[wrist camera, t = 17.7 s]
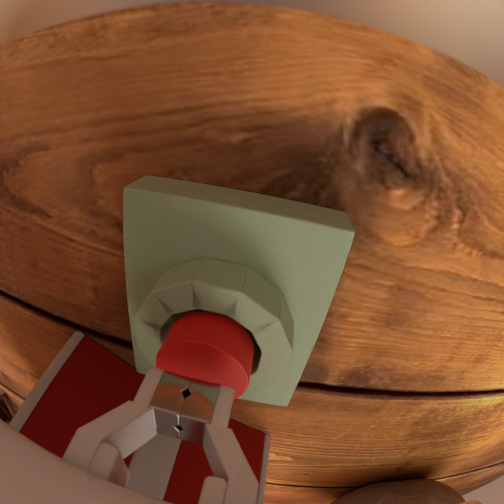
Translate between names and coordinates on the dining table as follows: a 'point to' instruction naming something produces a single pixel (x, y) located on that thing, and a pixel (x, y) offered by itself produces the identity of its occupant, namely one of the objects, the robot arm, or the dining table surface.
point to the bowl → (403, 493)
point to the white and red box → (108, 398)
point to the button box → (232, 271)
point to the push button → (208, 350)
